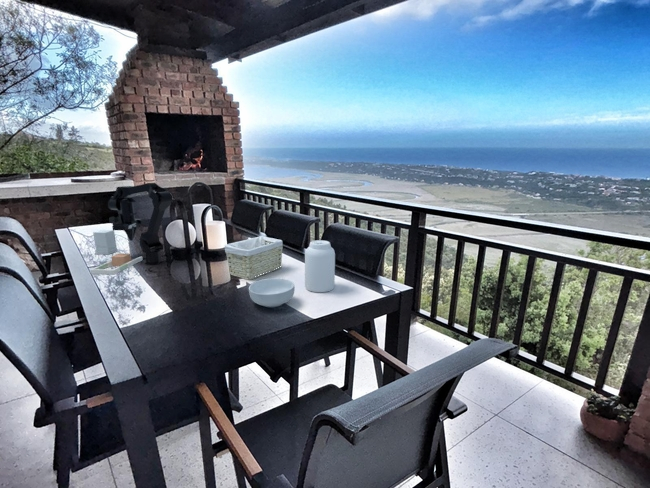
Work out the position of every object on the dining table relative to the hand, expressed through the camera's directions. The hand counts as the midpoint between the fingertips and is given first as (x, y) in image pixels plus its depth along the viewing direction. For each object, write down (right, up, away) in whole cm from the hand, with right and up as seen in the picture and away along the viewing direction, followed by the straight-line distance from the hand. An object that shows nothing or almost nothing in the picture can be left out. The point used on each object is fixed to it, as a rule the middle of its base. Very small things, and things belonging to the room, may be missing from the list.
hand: (131, 240), depth 175 cm
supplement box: (-22, -7, +14) cm, 27 cm away
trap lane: (-1, -13, -9) cm, 16 cm away
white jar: (+100, -21, -33) cm, 107 cm away
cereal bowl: (+82, -24, -49) cm, 99 cm away
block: (-1, -12, -6) cm, 14 cm away
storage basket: (+68, -15, -14) cm, 71 cm away
